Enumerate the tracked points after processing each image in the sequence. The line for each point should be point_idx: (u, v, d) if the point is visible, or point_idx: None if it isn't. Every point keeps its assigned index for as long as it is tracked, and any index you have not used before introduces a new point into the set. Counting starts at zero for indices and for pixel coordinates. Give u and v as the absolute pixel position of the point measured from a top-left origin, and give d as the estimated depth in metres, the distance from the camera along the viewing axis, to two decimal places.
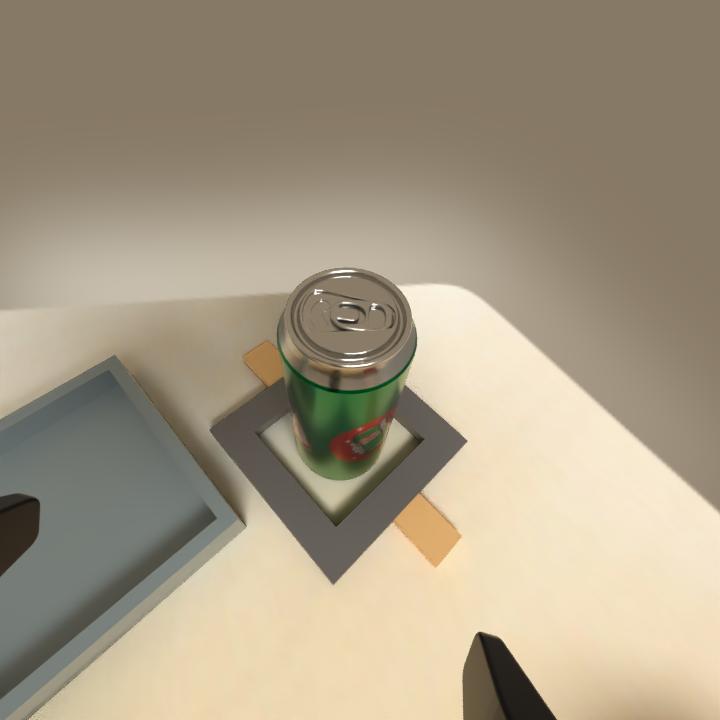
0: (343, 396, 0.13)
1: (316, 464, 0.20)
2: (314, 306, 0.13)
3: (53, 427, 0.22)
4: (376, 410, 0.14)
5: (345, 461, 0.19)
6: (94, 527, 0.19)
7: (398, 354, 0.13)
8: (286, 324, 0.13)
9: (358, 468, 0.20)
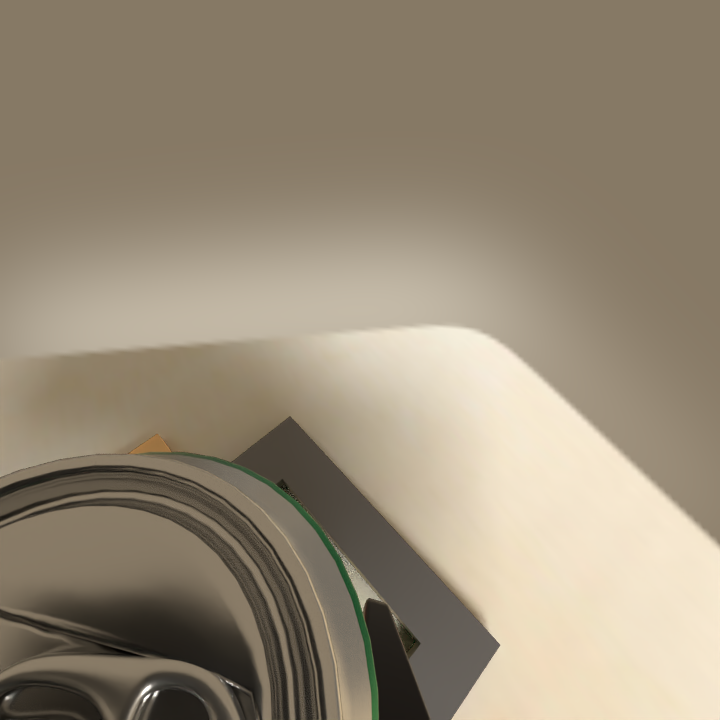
0: None
1: None
2: None
3: None
4: None
5: None
6: None
7: None
8: None
9: None
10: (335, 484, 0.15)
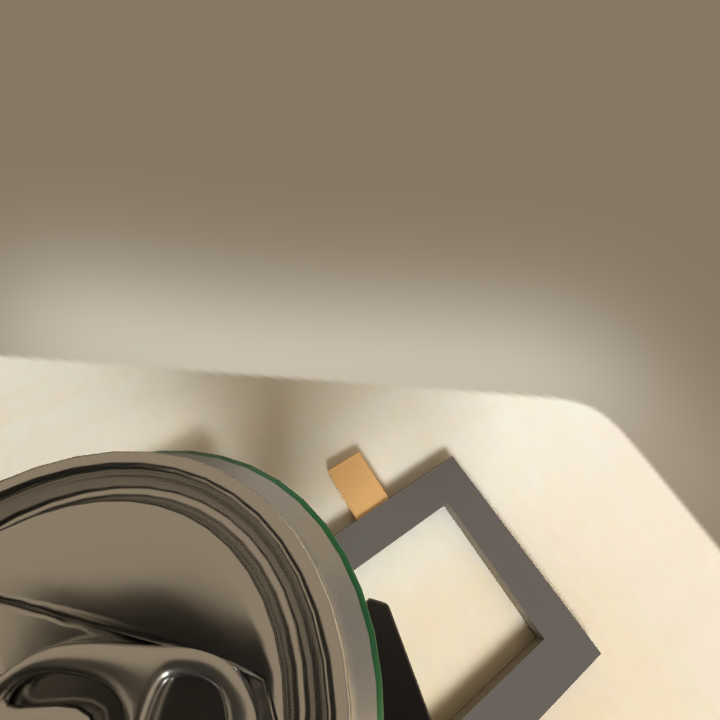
0: None
1: None
2: None
3: None
4: None
5: None
6: None
7: None
8: None
9: None
10: (485, 514, 0.20)
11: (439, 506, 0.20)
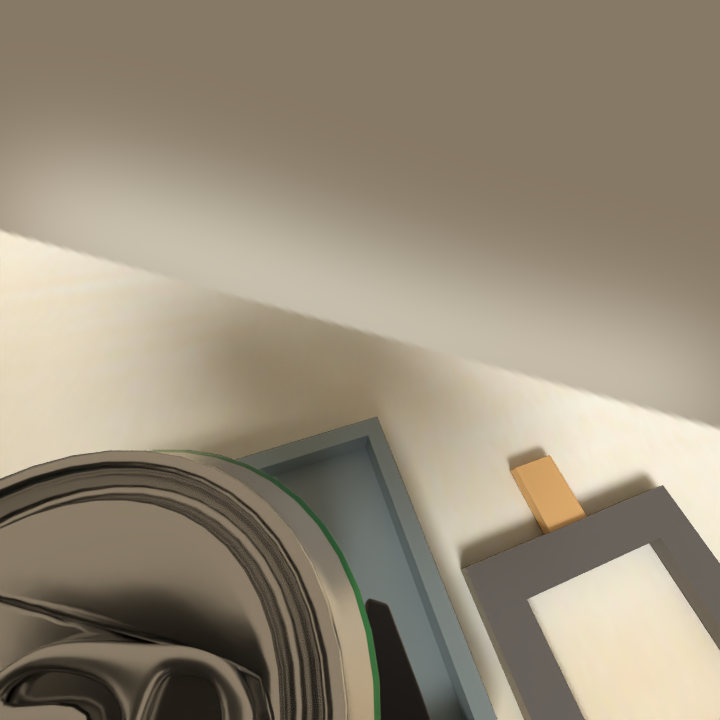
0: None
1: None
2: None
3: (283, 478, 0.18)
4: None
5: None
6: None
7: None
8: None
9: None
10: (708, 563, 0.17)
11: (650, 540, 0.17)
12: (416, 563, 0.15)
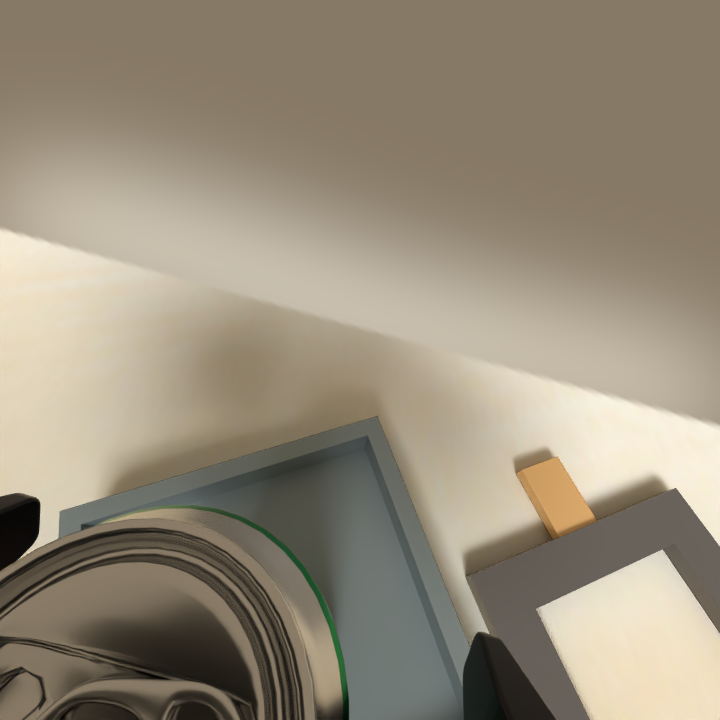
0: None
1: None
2: None
3: (279, 480, 0.17)
4: None
5: None
6: None
7: None
8: None
9: None
10: None
11: (664, 545, 0.16)
12: (419, 570, 0.14)
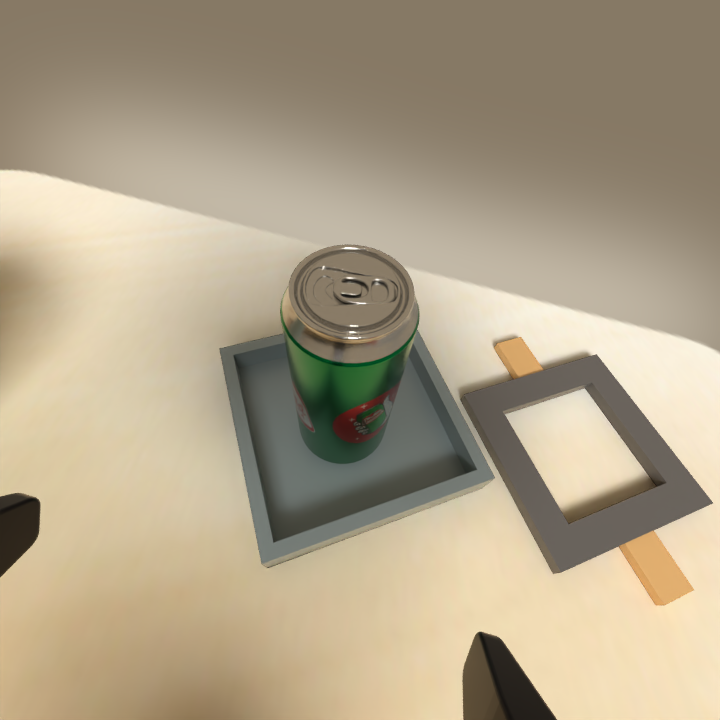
0: (347, 369, 0.13)
1: (319, 447, 0.20)
2: (317, 282, 0.14)
3: None
4: (380, 385, 0.14)
5: (348, 443, 0.19)
6: None
7: (401, 327, 0.13)
8: (290, 298, 0.13)
9: (361, 450, 0.20)
10: (622, 396, 0.26)
11: (585, 383, 0.26)
12: (433, 382, 0.24)
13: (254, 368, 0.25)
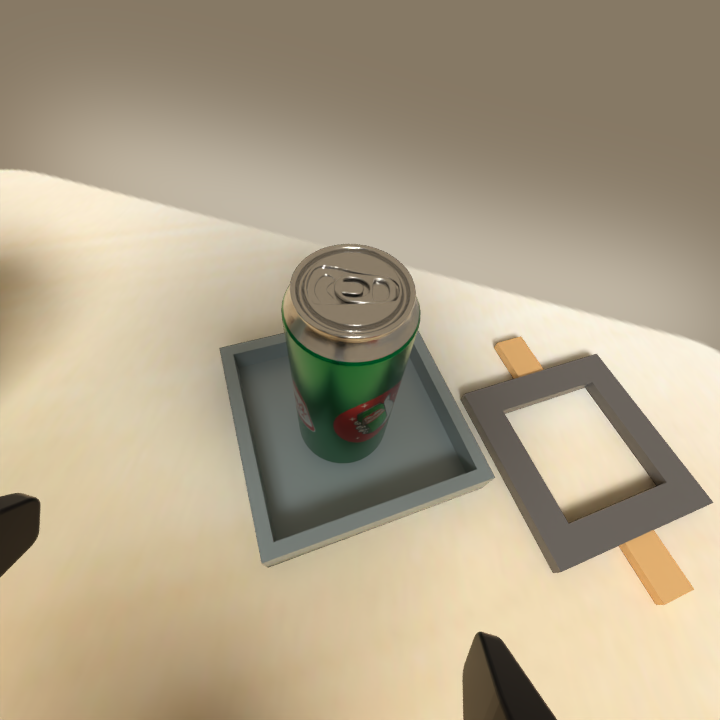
0: (348, 369, 0.13)
1: (320, 446, 0.20)
2: (318, 280, 0.14)
3: None
4: (381, 385, 0.15)
5: (349, 442, 0.19)
6: None
7: (402, 326, 0.13)
8: (291, 297, 0.13)
9: (361, 450, 0.20)
10: (622, 395, 0.26)
11: (585, 382, 0.26)
12: (433, 381, 0.24)
13: (254, 368, 0.25)
